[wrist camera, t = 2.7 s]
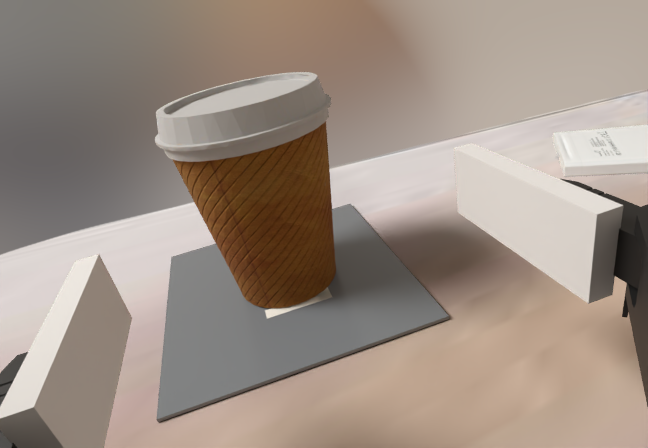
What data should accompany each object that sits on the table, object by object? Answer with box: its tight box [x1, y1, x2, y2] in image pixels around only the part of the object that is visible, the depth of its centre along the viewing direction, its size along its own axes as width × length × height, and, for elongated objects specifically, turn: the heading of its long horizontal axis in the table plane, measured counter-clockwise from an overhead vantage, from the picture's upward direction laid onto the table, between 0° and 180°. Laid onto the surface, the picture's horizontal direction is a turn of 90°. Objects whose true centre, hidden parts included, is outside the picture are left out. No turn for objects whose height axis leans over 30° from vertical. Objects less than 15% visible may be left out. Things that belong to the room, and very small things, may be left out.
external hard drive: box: [553, 125, 648, 177], centre depth 35 cm, size 2×8×12 cm
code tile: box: [157, 204, 449, 422], centre depth 28 cm, size 15×16×1 cm
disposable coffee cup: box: [155, 72, 336, 308], centre depth 26 cm, size 10×10×12 cm
